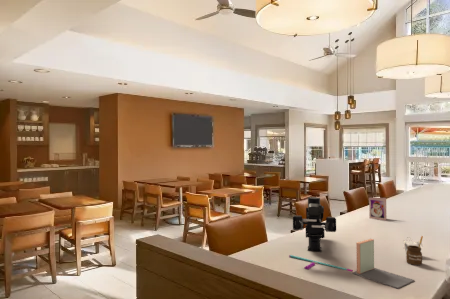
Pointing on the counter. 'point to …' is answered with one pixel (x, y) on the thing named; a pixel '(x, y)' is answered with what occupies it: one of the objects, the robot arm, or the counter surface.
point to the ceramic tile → (365, 255)
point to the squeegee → (316, 263)
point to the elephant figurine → (412, 245)
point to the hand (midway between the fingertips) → (314, 227)
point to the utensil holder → (414, 254)
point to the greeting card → (377, 208)
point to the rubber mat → (385, 278)
